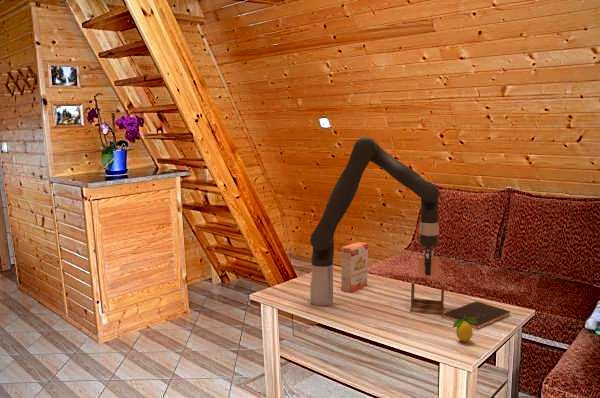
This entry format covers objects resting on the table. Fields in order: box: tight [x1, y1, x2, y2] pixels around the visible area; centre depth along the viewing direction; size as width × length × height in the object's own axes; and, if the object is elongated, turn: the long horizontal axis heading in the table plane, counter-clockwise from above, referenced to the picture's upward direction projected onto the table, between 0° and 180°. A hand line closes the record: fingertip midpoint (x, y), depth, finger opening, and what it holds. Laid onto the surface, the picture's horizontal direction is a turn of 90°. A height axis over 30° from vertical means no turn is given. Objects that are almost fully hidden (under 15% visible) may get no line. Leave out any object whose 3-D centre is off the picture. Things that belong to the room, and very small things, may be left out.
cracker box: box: [340, 241, 369, 293], centre depth 238 cm, size 14×6×21 cm, turn 139°
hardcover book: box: [440, 300, 512, 330], centre depth 203 cm, size 16×23×2 cm
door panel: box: [417, 255, 440, 279], centre depth 209 cm, size 8×3×8 cm, turn 73°
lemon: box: [452, 315, 477, 342], centre depth 179 cm, size 7×6×10 cm
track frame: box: [409, 280, 445, 316], centre depth 211 cm, size 13×12×11 cm
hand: (428, 273), depth 209 cm, fingers closed on door panel, 3 cm apart
